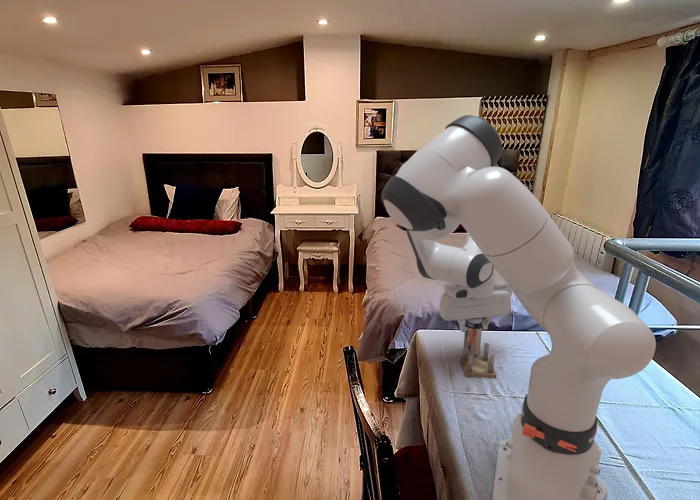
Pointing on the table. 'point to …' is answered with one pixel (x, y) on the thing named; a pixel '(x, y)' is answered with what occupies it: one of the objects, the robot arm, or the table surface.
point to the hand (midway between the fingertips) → (473, 330)
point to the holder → (478, 364)
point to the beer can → (473, 335)
